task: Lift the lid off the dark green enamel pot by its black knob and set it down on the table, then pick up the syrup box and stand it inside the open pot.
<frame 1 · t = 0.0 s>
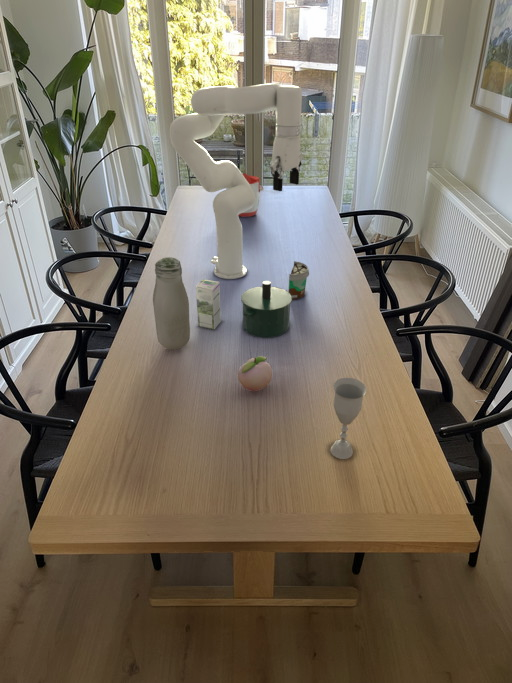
hand: (286, 187, 167), 37 cm above the table, tool pointing down, fingers open, 9 cm apart
lid: (266, 299, 160), point 9 cm above the table, touching pot
syrup box: (209, 324, 165), on the table
chalice: (341, 451, 117), on the table
glass bottle: (175, 346, 154), on the table
pot: (265, 325, 165), on the table
food container: (299, 294, 183), on the table
citrus juicer: (246, 214, 258), on the table
decorative fruit: (256, 390, 136), on the table
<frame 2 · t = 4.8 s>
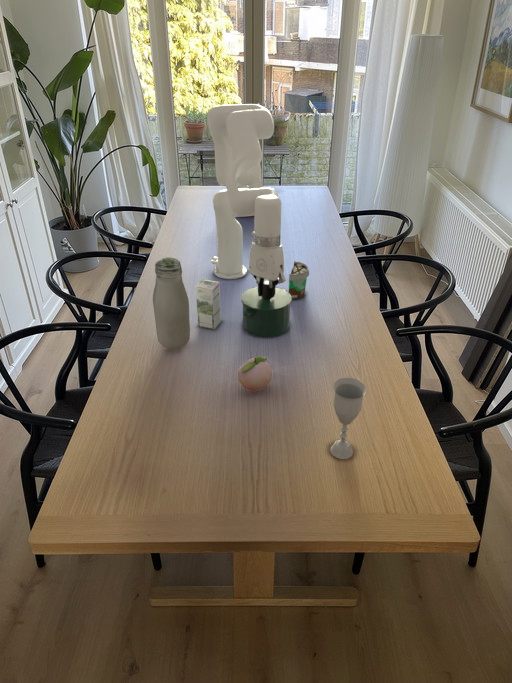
hand: (266, 295, 159), 11 cm above the table, tool pointing down, fingers closed on lid, 2 cm apart
lid: (266, 299, 160), point 10 cm above the table, touching gripper, pot
everything else where it was.
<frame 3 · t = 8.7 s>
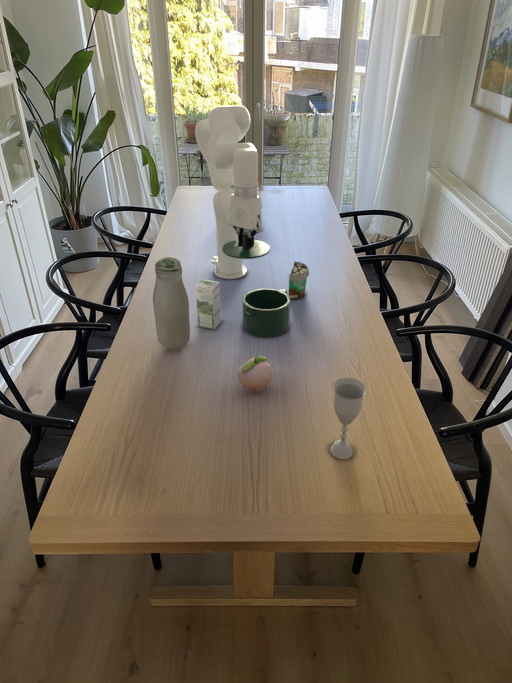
hand: (246, 246, 170), 20 cm above the table, tool pointing down, fingers closed on lid, 2 cm apart
lid: (246, 249, 170), point 18 cm above the table, touching gripper
everything else where it was.
when the fingers open (2 cm above the table, at t = 12.7 s): lid stays where it is, point 1 cm above the table.
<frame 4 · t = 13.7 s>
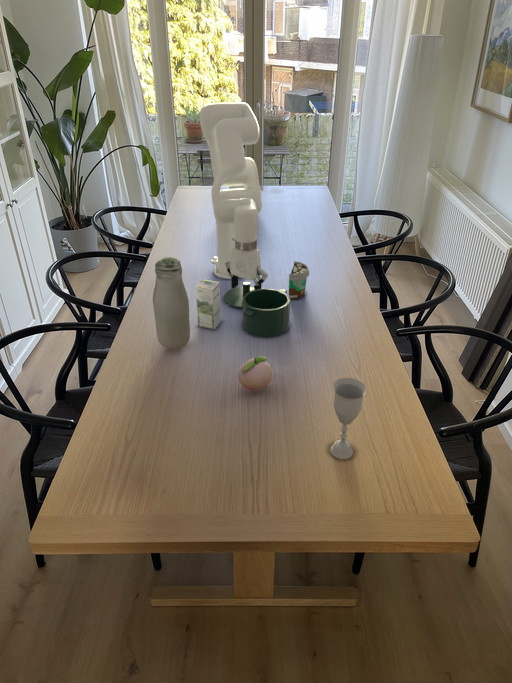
hand: (246, 290, 178), 3 cm above the table, tool pointing down, fingers open, 9 cm apart
lid: (246, 297, 180), point 1 cm above the table
everything else where it was.
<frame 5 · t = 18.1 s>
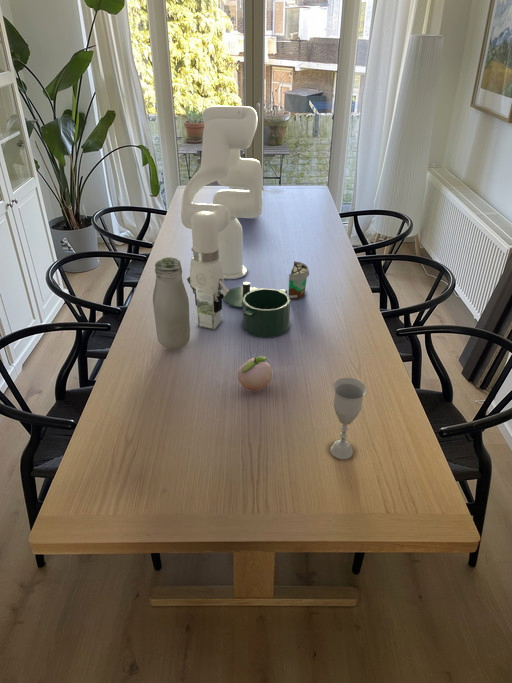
hand: (208, 307, 162), 6 cm above the table, tool pointing down, fingers closed on syrup box, 6 cm apart
syrup box: (209, 324, 165), on the table, touching gripper
everything else where it was.
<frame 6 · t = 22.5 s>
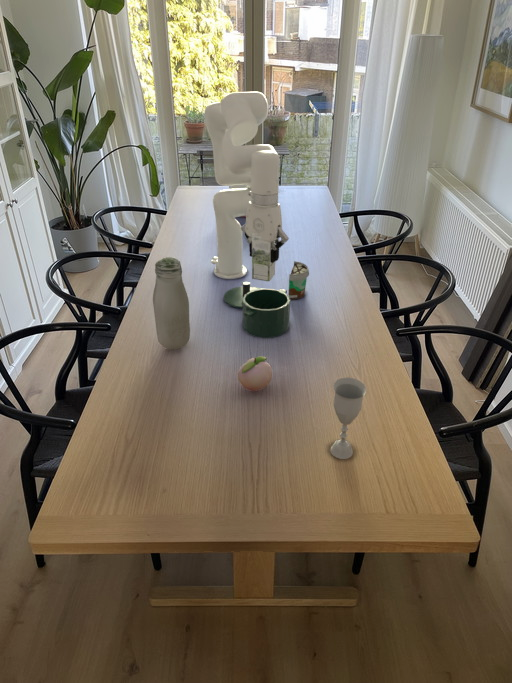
hand: (263, 257, 152), 23 cm above the table, tool pointing down, fingers closed on syrup box, 6 cm apart
syrup box: (263, 277, 156), point 17 cm above the table, touching gripper
everything else where it was.
when the fingers open (7 cm above the table, at t = 26.7 s): syrup box stays where it is, resting on pot.
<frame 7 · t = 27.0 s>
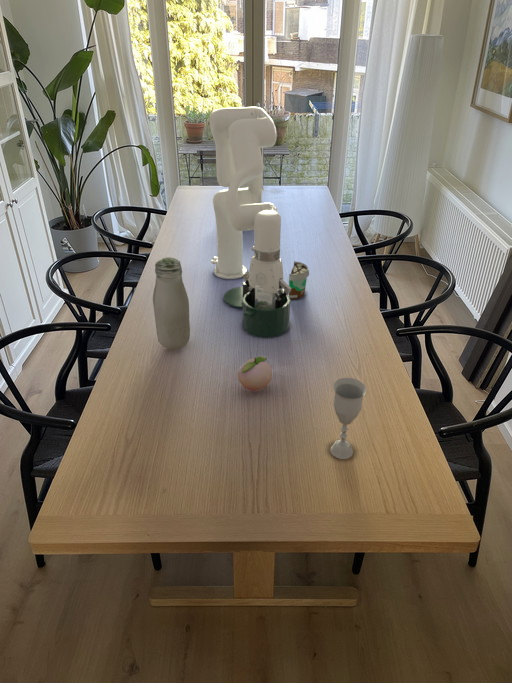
hand: (266, 305, 161), 7 cm above the table, tool pointing down, fingers open, 9 cm apart
syrup box: (265, 324, 164), resting on pot
everything else where it was.
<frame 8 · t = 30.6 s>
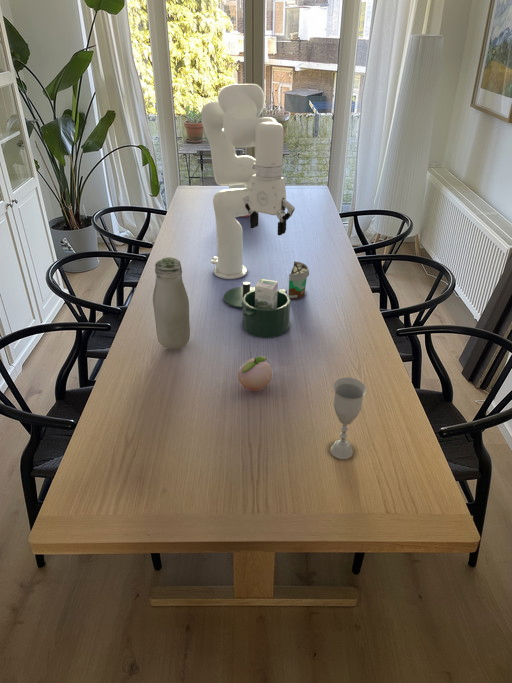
hand: (267, 230, 151), 30 cm above the table, tool pointing down, fingers open, 9 cm apart
nothing on the table moved.
at the end: lid inside the target area (0.3 cm from its centre), point 0.6 cm above the table; syrup box inside the target area in the pot (0.0 cm from its centre), point 0.3 cm above the pot's base; the gripper is holding nothing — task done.
